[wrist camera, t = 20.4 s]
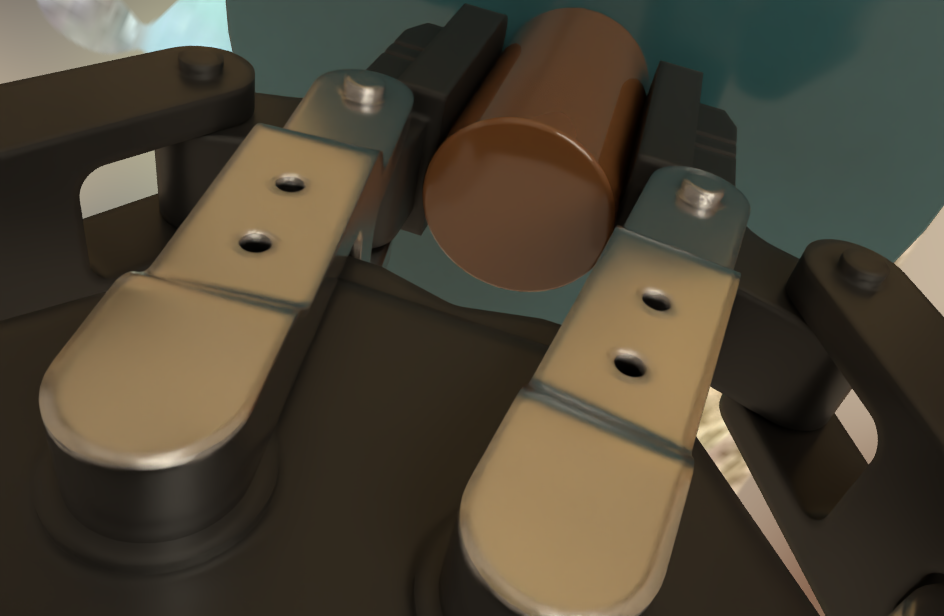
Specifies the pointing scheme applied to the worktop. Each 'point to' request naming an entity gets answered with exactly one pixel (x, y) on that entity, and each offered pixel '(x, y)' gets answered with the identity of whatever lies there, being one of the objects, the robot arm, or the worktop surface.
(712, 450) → the worktop surface
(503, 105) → the lid
